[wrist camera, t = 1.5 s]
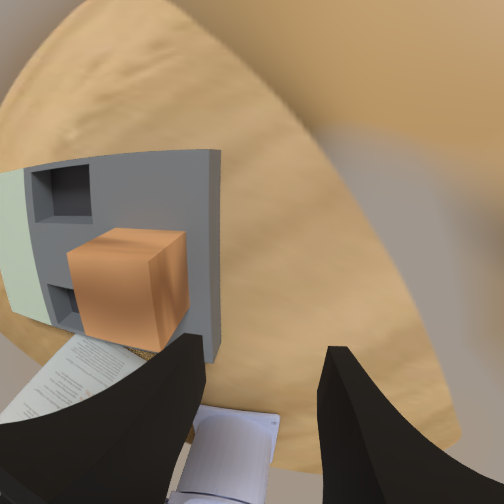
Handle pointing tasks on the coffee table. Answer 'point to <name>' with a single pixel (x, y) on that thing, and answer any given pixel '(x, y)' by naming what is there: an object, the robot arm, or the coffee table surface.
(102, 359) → the small box
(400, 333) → the coffee table surface
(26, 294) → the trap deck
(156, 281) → the orange block
